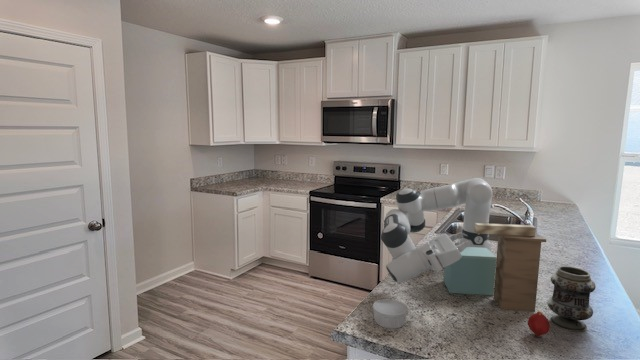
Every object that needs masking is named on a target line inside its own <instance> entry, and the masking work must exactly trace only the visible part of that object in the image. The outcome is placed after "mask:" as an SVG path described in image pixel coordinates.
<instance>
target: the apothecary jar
mask: <svg viewBox="0 0 640 360" xmlns="http://www.w3.org/2000/svg"><path fill="white" fill-rule="evenodd" d="M550 282H551V284H553V291H552V296H550V297H549V298H548V299H547V301H546V303H547V306H548V308H549V310H550V311H551V312H553V313H554V314H555V315H552V316H551V317H550V318H549V319H550V321H549V322H550V323H552V324H553V325H554V326H556V327H557V328H560V329H562V330H565V331H568V332H576V333H577V332H578V333H580V332H586V331H587V329H588V327H587V324H586V323H584V322H583V321H587V320H588V319H591V318H592V317H593V315H594V310H593V308H592V305H590V296H591V293H593V292H594V291H595V290H596V288H597V287H596V283H595V282H594V281H593V280H592V278H591V273H590V272H589V271H587V270H585V269H583V268H579V267H575V266H570V265H569V266H568V265H561V266H558V267H557V271H555V272H554V273H552V274H551V275H550Z"/></svg>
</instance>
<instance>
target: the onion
mask: <svg viewBox="0 0 640 360" xmlns="http://www.w3.org/2000/svg"><path fill="white" fill-rule="evenodd" d="M528 317H529V318H527V319H528V320H527V327H528V328H529V330H530V331H531V333H533V334H534V335H535V337H542V336H545V335H547V334H548V333H549V332H550V330H551V324H550V323H551V322H550V321H549V319H548V318H547V317H546V315H544V313H543V312H542V311H540V310H538V311H536V312H535V313H532V314H531V315H530V316H528Z"/></svg>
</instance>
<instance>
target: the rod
mask: <svg viewBox="0 0 640 360" xmlns="http://www.w3.org/2000/svg"><path fill="white" fill-rule="evenodd" d="M536 230H537V227H536V226H534V225H533V224H531V225H530V224H510V223H506V224H504V223H489V224H488V223H475V232H476V233H477V234H489V235H497V234H499V235H522V236H535V233H536Z"/></svg>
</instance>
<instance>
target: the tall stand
mask: <svg viewBox="0 0 640 360" xmlns="http://www.w3.org/2000/svg"><path fill="white" fill-rule="evenodd" d="M496 235H497V246H496V269H495V282H494V295H493V300H494V302H495V303H496V305H497V306H498V307H499V308H500V310H504V311H505V310H506V311H507V310H508V311H522V312H535V313H536V303H537V294H538V284H539V283H538V282H539V272H540V271H539V270H540V262H541V261H540V260H541V252H542V251H541V248H542V243H547V239H546V237H543V236H542V235H540V234H539V233H535V236H522V235H499V234H496Z"/></svg>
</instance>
